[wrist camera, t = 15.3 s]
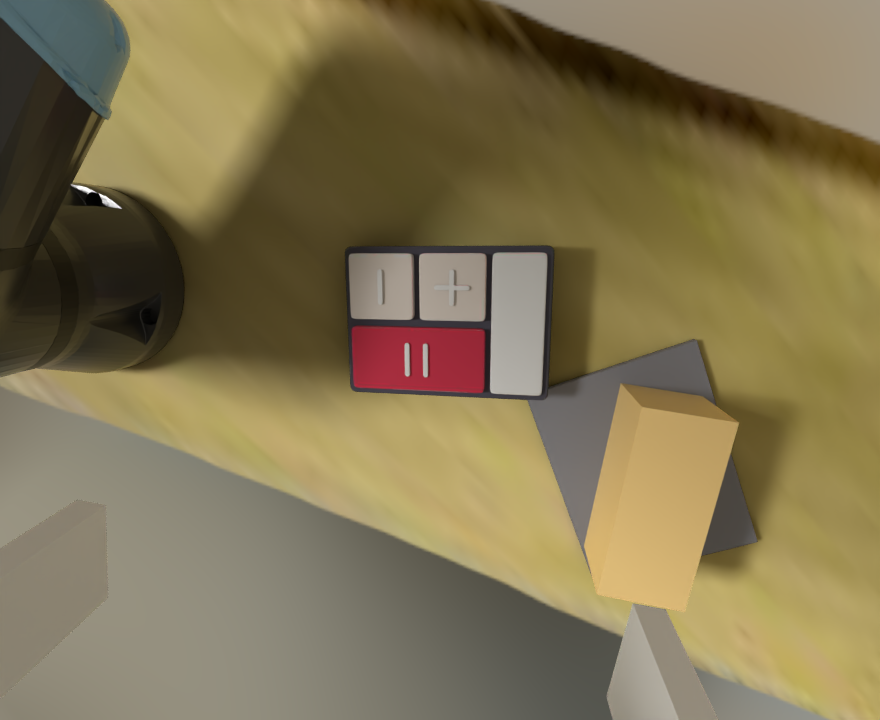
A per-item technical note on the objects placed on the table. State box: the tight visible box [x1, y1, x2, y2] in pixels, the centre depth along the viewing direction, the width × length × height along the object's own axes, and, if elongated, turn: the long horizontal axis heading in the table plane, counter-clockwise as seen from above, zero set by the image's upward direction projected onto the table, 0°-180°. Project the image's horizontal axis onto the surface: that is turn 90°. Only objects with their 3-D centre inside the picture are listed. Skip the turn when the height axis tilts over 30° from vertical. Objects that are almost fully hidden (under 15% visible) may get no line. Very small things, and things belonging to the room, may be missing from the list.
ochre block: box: [584, 383, 739, 612], centre depth 36 cm, size 6×6×14 cm
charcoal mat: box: [528, 339, 758, 575], centre depth 39 cm, size 17×13×1 cm
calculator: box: [345, 246, 554, 400], centre depth 38 cm, size 11×4×15 cm
